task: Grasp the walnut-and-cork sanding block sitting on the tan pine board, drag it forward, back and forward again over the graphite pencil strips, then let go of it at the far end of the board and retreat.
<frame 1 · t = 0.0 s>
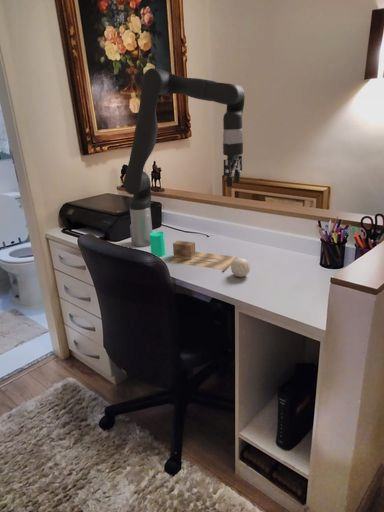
hand: (233, 184, 150), 29 cm above the table, fingers open, 8 cm apart
sanding block: (184, 256, 157), point 1 cm above the table, touching board
candle: (158, 257, 162), on the table
baseball: (240, 276, 139), on the table
board: (202, 261, 154), on the table
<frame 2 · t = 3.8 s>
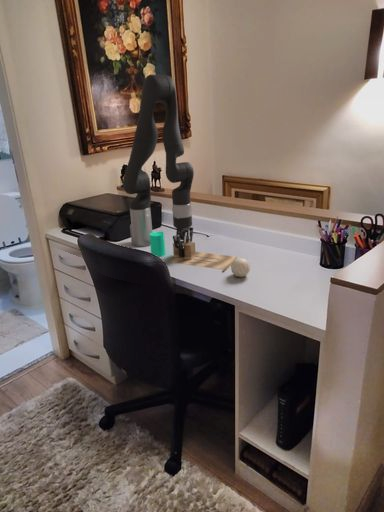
hand: (184, 254, 157), 2 cm above the table, fingers closed on sanding block, 4 cm apart
sanding block: (184, 256, 157), point 1 cm above the table, touching board, gripper
everything else where it was.
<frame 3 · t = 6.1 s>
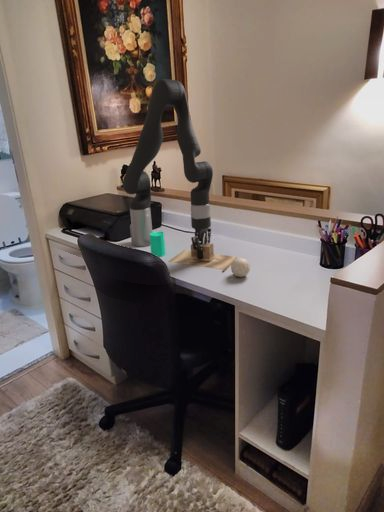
hand: (202, 256, 153), 2 cm above the table, fingers closed on sanding block, 4 cm apart
sanding block: (202, 258, 153), point 2 cm above the table, touching gripper
everything else where it was.
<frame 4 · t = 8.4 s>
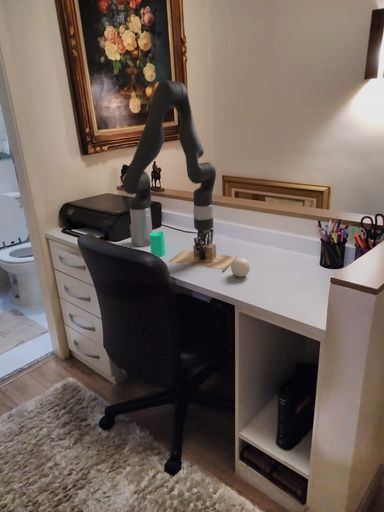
hand: (204, 257, 153), 2 cm above the table, fingers closed on sanding block, 4 cm apart
sanding block: (205, 259, 153), point 1 cm above the table, touching gripper
everything else where it was.
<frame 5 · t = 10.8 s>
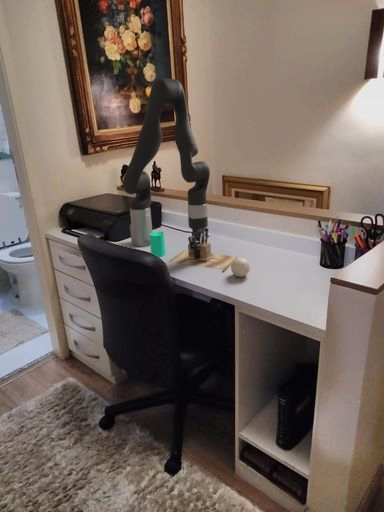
hand: (199, 256, 154), 2 cm above the table, fingers closed on sanding block, 4 cm apart
sanding block: (199, 258, 154), point 2 cm above the table, touching gripper
everything else where it was.
when the fingers open (2 cm above the table, at t = 13.1 s): sanding block stays where it is, resting on board.
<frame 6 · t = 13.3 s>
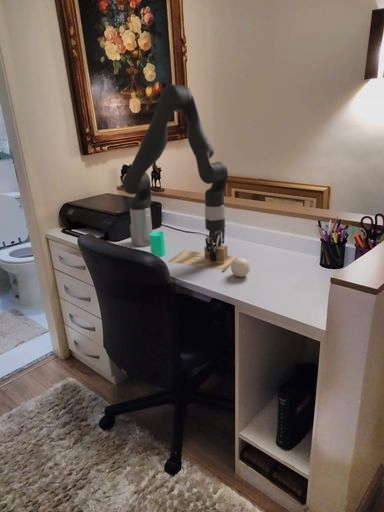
hand: (216, 258, 151), 2 cm above the table, fingers open, 5 cm apart
sanding block: (216, 260, 151), point 1 cm above the table, touching board
everything else where it was.
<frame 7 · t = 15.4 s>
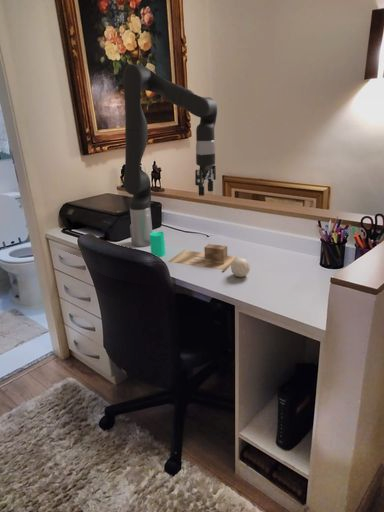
hand: (206, 193, 156), 25 cm above the table, fingers open, 8 cm apart
nothing on the table moved.
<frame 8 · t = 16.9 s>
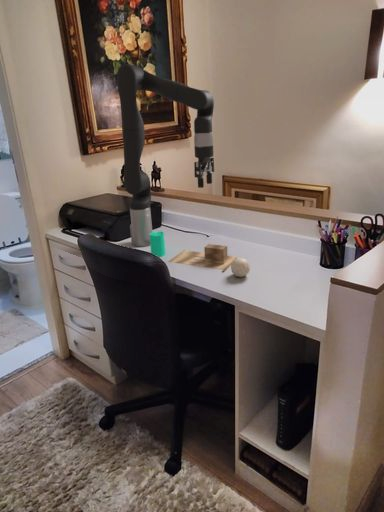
hand: (205, 185, 158), 28 cm above the table, fingers open, 8 cm apart
nothing on the table moved.
at the end: sanding block inside the target area (0.0 cm from its centre), point 1.2 cm above the table; sanding block tilted 0°; sanding block moved 14.0 cm from its start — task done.
